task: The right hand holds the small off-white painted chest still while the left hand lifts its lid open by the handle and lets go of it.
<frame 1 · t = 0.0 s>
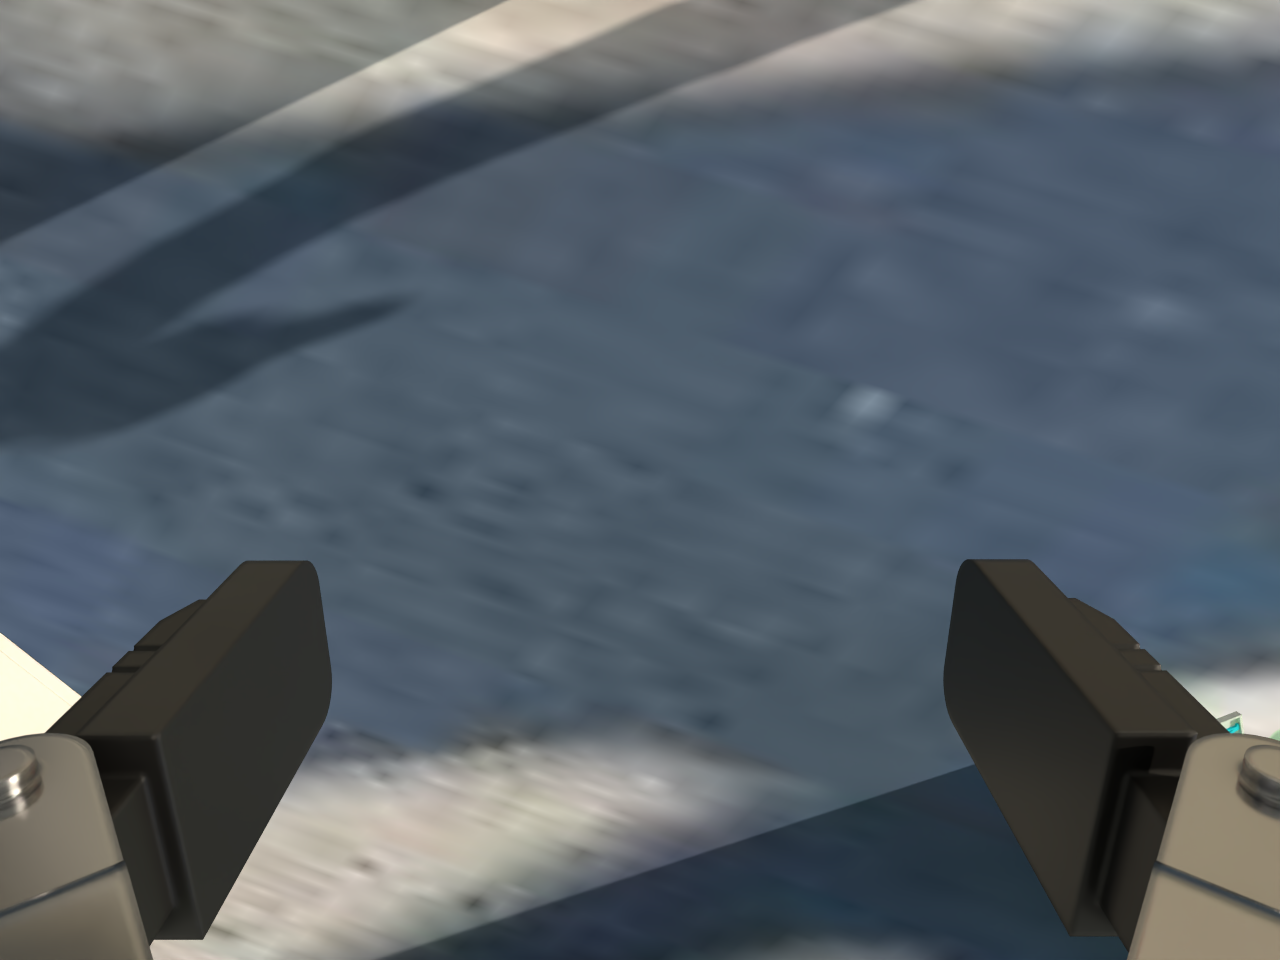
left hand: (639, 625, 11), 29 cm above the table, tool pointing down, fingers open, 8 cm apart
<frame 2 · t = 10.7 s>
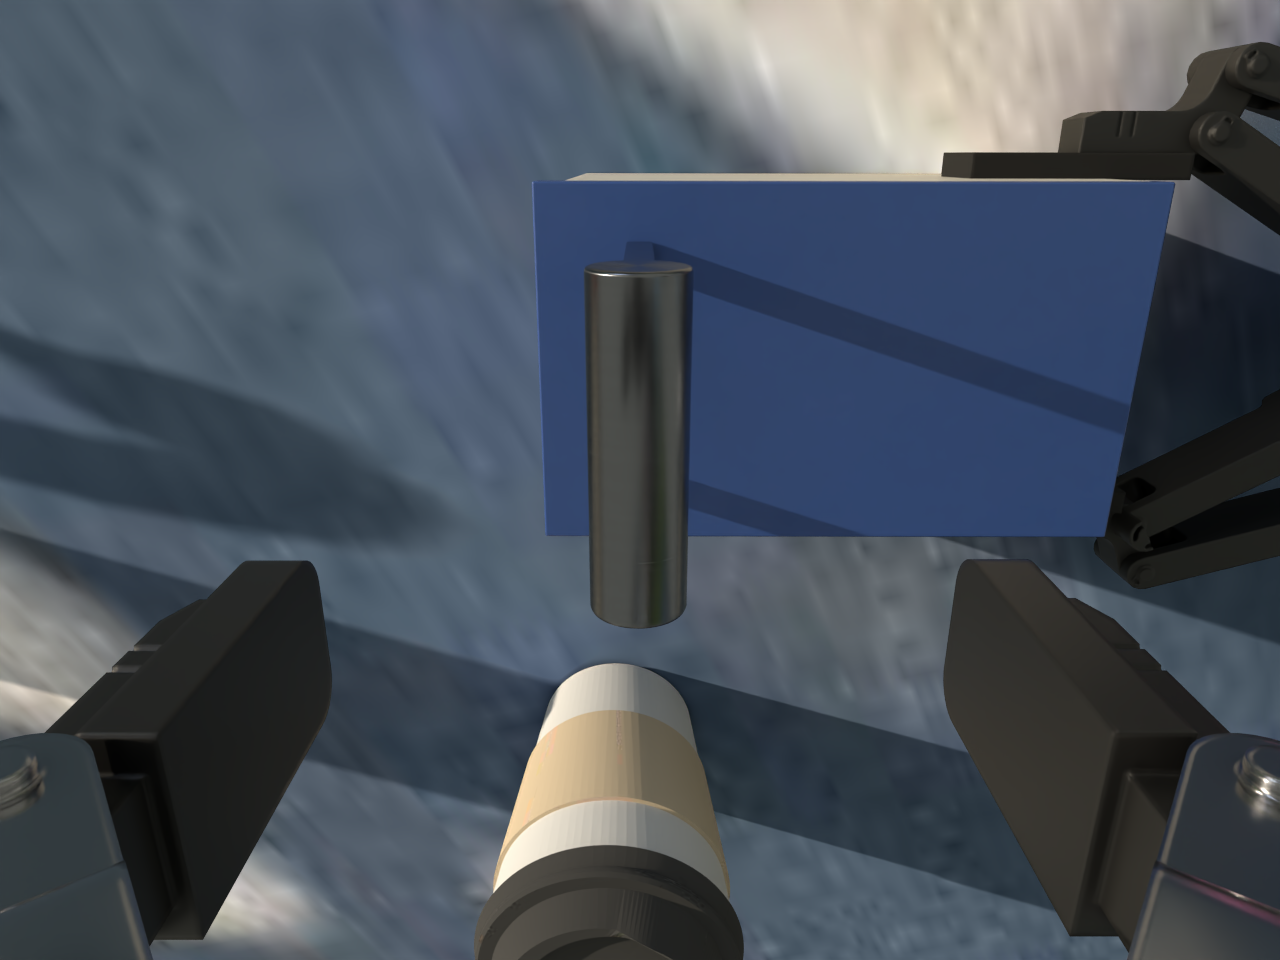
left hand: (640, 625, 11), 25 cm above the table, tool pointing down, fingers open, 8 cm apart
chest: (788, 307, 35), on the table, touching right hand
lid: (868, 404, 21), point 14 cm above the table, hinge at 0.0°
coffee cup: (617, 723, 42), on the table
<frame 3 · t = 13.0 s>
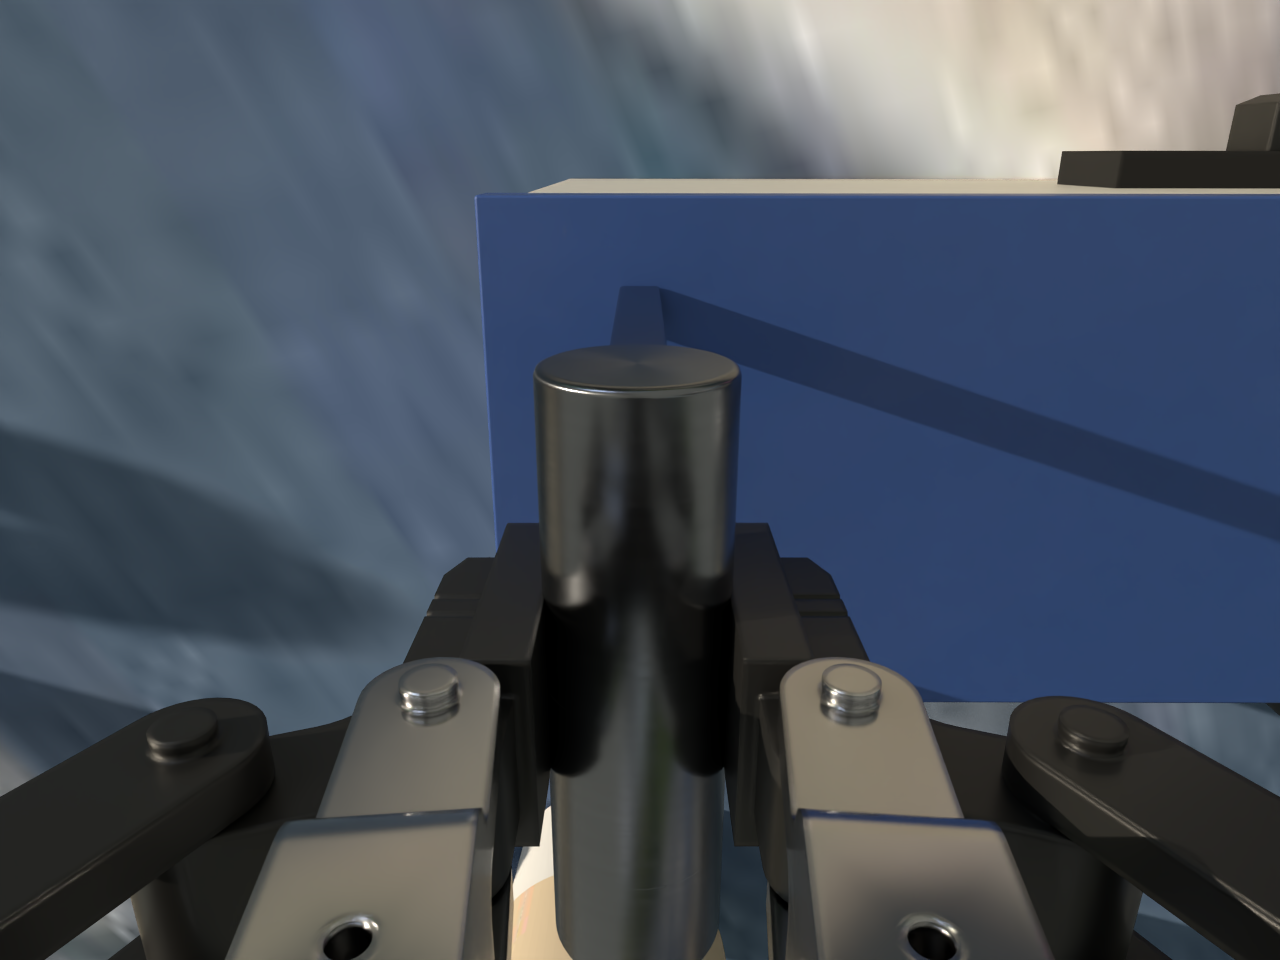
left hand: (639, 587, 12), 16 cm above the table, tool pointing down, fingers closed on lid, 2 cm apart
chest: (832, 352, 27), on the table, touching right hand
lid: (1005, 553, 13), point 14 cm above the table, hinge at -0.1°, touching left hand
coffee cup: (612, 857, 34), on the table
when the right hand's fingers open (6 cm above the table, at t = 20.8 s): chest stays where it is, on the table.
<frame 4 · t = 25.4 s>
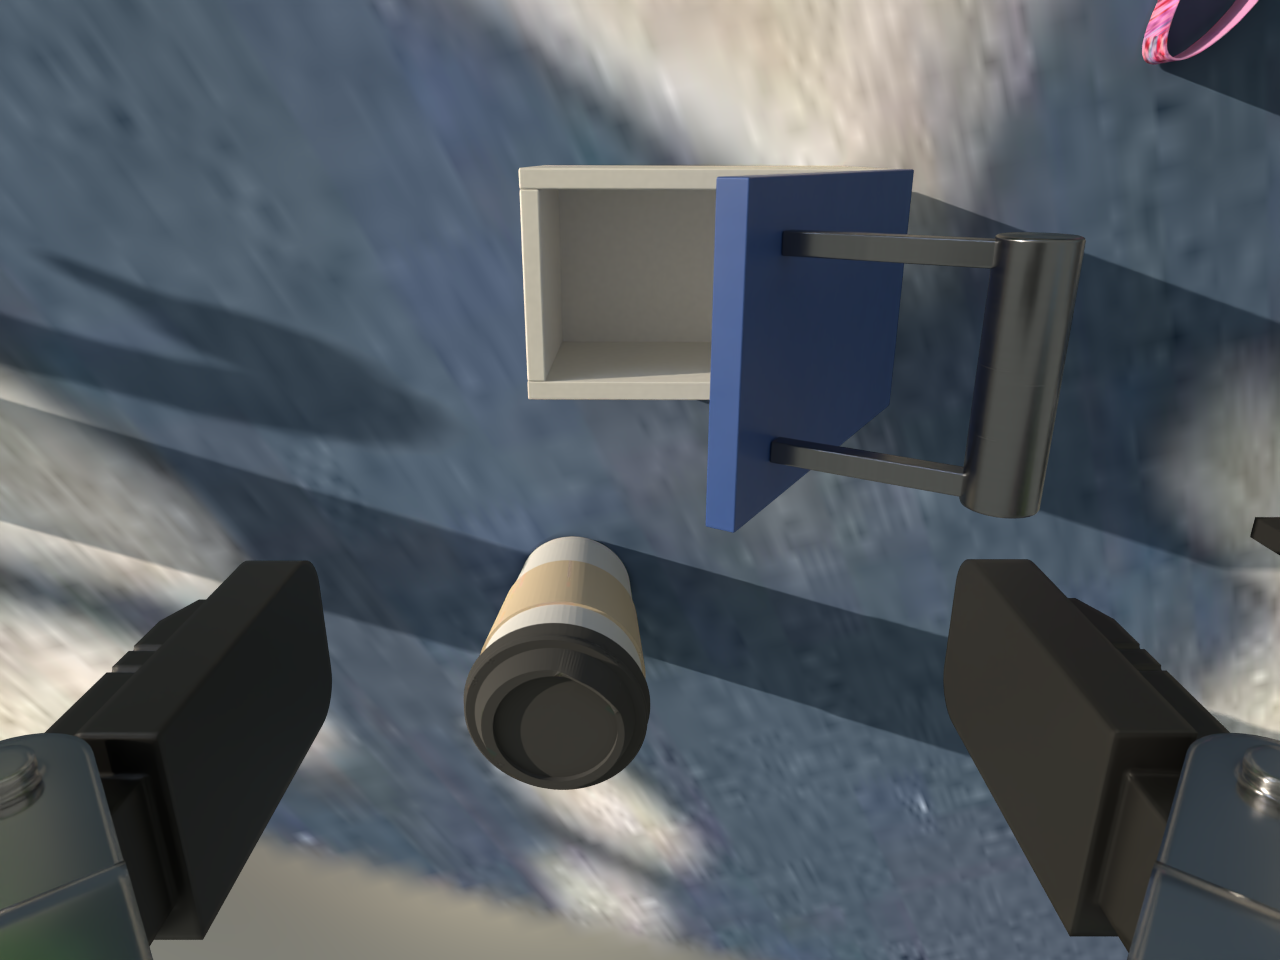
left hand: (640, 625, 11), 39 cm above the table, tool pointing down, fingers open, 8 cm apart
chest: (692, 263, 48), on the table
lid: (937, 331, 29), point 20 cm above the table, hinge at 59.7°
coffee cup: (575, 585, 55), on the table
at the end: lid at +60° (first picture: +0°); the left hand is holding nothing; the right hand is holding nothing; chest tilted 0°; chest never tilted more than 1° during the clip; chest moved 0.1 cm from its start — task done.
